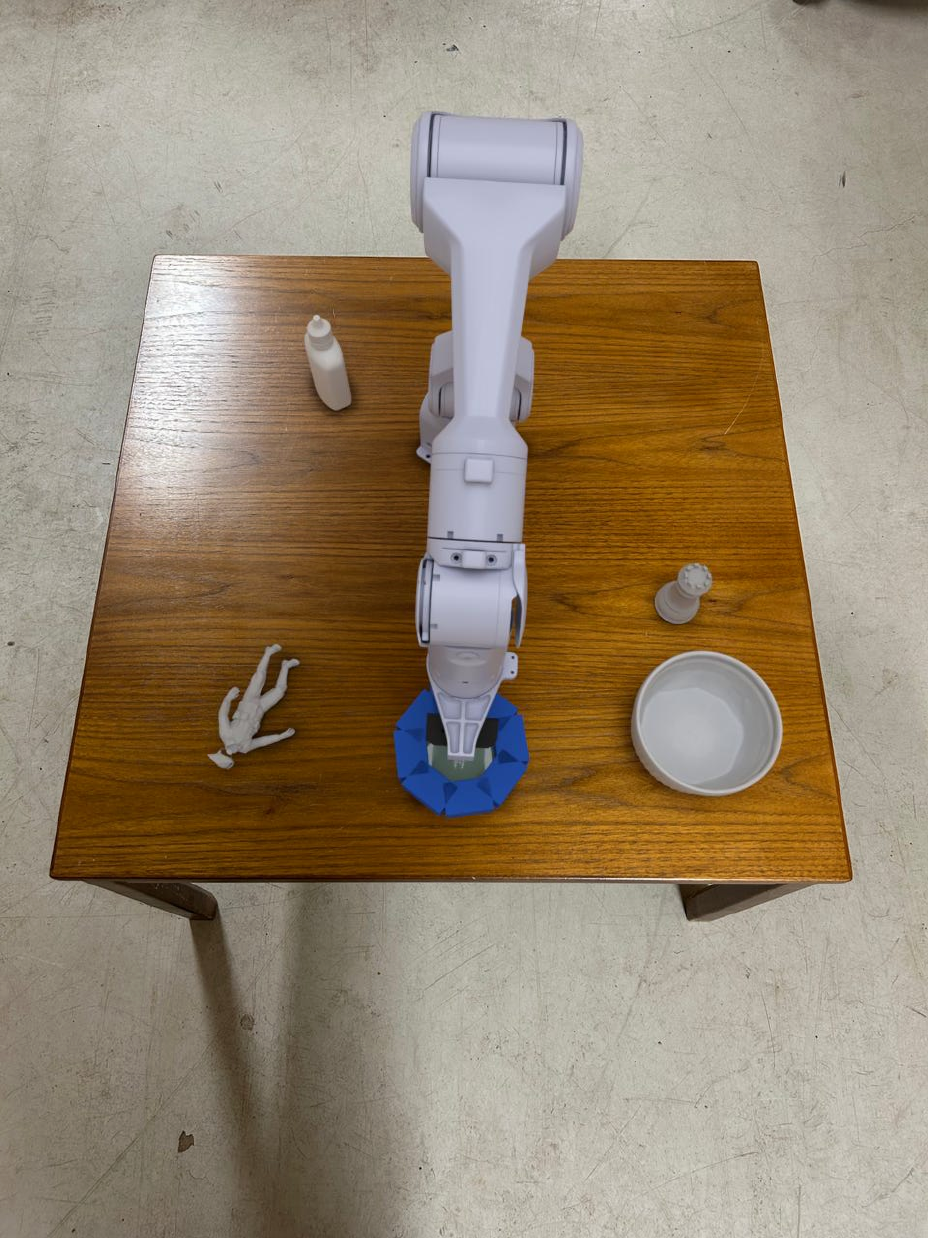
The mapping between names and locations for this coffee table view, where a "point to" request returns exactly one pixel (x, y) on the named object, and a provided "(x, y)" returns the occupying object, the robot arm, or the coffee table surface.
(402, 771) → the blue ring
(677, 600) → the rook chess piece
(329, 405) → the eye dropper bottle
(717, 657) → the ramekin
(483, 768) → the pale green peg block
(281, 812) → the coffee table surface
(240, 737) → the soldier figure
